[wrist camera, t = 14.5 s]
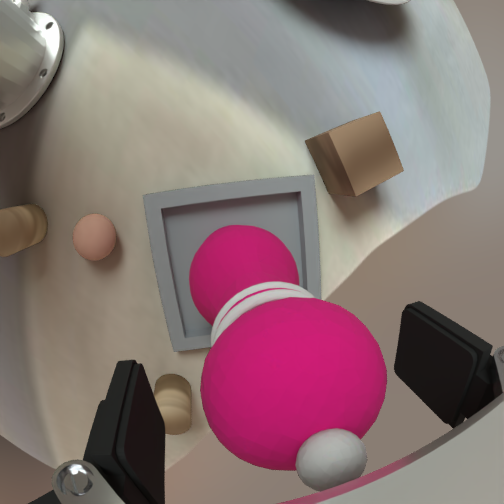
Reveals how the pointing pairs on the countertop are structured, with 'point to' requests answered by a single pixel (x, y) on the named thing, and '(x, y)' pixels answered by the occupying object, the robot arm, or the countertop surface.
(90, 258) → the ball
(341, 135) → the walnut block
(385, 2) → the dish
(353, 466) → the pepper mill
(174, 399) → the cork
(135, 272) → the countertop surface
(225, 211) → the tray
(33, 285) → the countertop surface
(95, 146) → the countertop surface
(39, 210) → the cork
